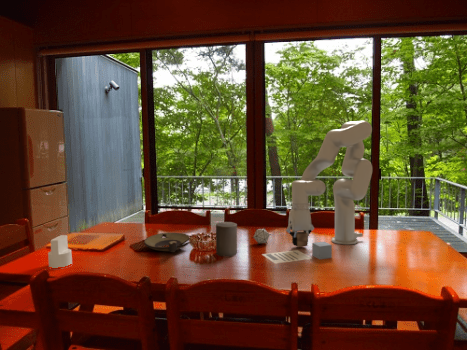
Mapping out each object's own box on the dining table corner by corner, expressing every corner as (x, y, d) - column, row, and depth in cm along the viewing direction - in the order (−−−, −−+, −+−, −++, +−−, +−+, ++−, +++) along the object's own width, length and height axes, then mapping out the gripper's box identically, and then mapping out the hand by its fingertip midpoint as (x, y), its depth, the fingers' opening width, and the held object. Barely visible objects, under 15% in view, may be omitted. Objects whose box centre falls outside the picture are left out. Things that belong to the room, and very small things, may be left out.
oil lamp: (194, 242, 197) (193, 227, 197) (185, 259, 167) (184, 242, 167) (151, 242, 198) (150, 227, 197) (134, 260, 168) (134, 243, 167)
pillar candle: (212, 255, 173) (212, 222, 171) (220, 249, 182) (220, 218, 180) (233, 257, 169) (232, 224, 168) (240, 251, 178) (240, 219, 177)
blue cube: (324, 254, 171) (324, 241, 171) (331, 258, 165) (331, 244, 165) (312, 256, 169) (312, 242, 169) (319, 260, 164) (319, 246, 163)
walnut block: (302, 243, 185) (302, 231, 184) (307, 245, 180) (307, 233, 180) (293, 244, 183) (292, 232, 183) (297, 247, 179) (297, 234, 178)
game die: (264, 252, 189) (269, 239, 183) (248, 245, 191) (252, 232, 184) (269, 239, 196) (274, 226, 190) (254, 233, 198) (258, 220, 191)
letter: (297, 250, 178) (297, 250, 178) (313, 259, 165) (313, 258, 165) (261, 254, 172) (261, 254, 172) (274, 263, 159) (274, 263, 159)
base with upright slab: (55, 262, 167) (53, 235, 166) (75, 262, 167) (74, 235, 166) (44, 269, 158) (42, 240, 157) (66, 268, 158) (64, 240, 157)
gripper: (311, 204, 186) (311, 240, 188) (280, 206, 181) (280, 244, 183) (320, 206, 179) (320, 244, 181) (287, 209, 174) (287, 248, 175)
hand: (300, 244), depth 182 cm, fingers closed on walnut block, 4 cm apart
